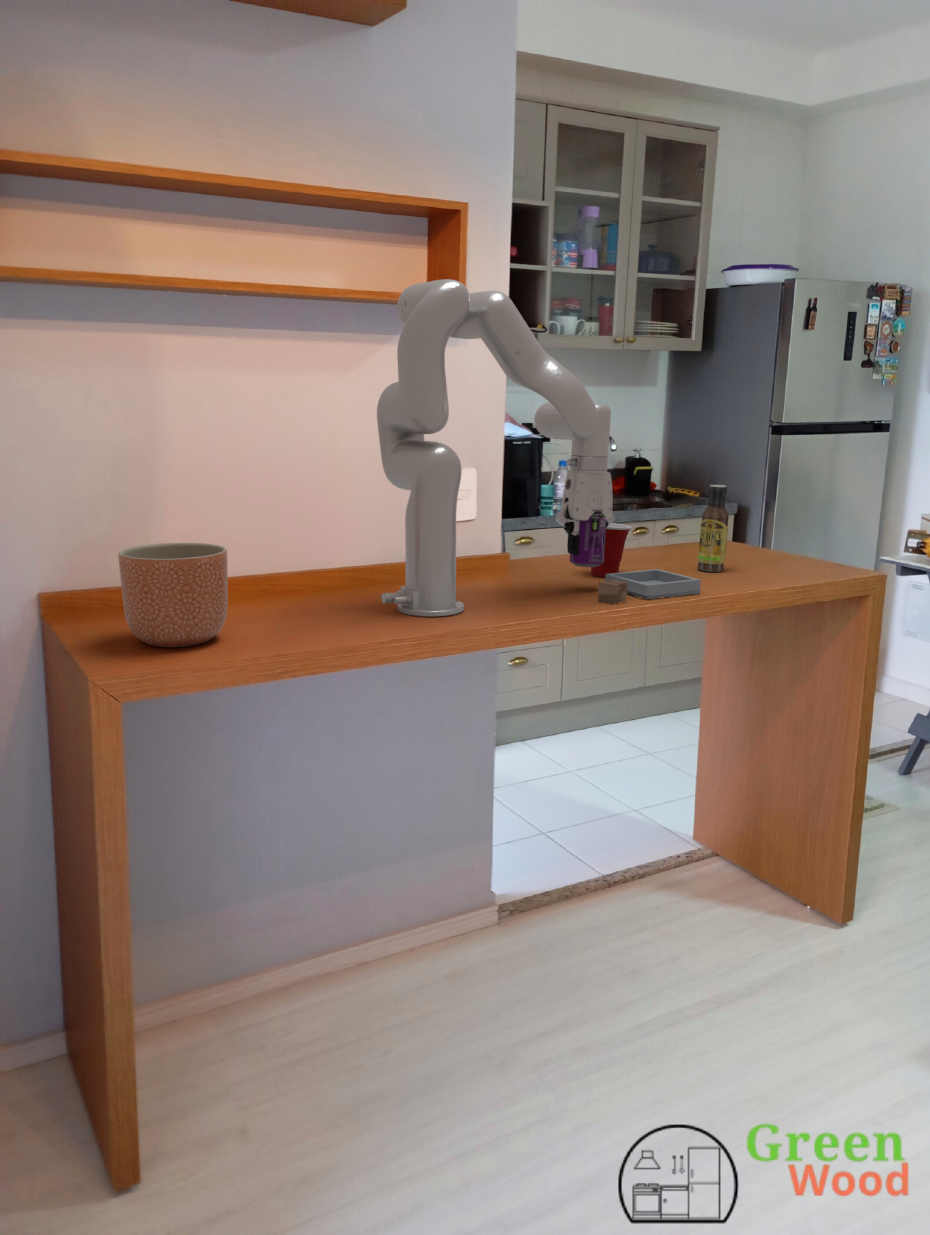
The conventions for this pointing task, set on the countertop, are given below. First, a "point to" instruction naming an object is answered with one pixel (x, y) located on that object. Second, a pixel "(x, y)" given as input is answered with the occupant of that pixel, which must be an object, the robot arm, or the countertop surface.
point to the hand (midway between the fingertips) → (583, 552)
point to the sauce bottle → (713, 531)
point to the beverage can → (591, 541)
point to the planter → (174, 592)
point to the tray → (656, 583)
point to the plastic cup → (612, 549)
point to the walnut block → (612, 591)
